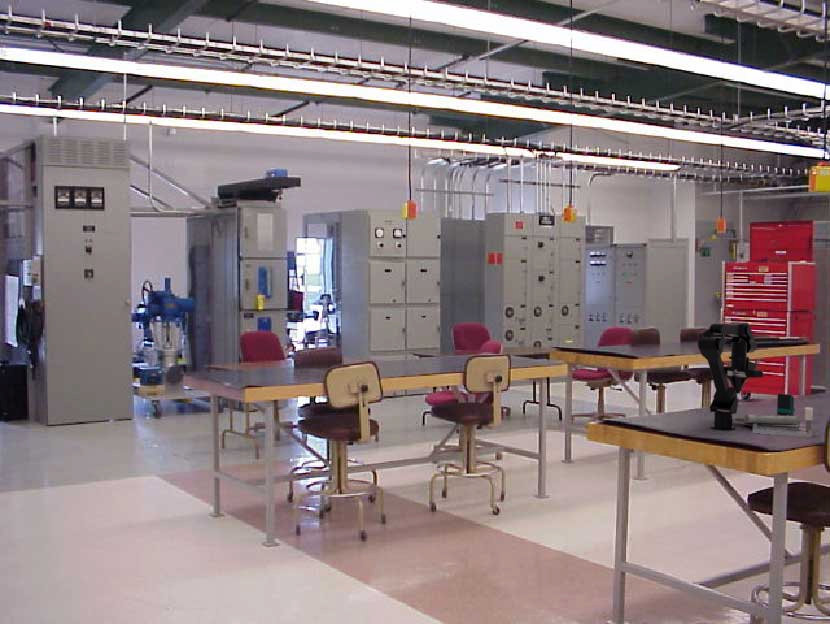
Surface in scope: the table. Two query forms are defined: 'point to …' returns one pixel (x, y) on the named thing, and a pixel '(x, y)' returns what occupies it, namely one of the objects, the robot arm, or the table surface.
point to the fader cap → (808, 417)
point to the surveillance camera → (785, 405)
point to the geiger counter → (769, 420)
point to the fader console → (782, 431)
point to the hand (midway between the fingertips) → (737, 393)
